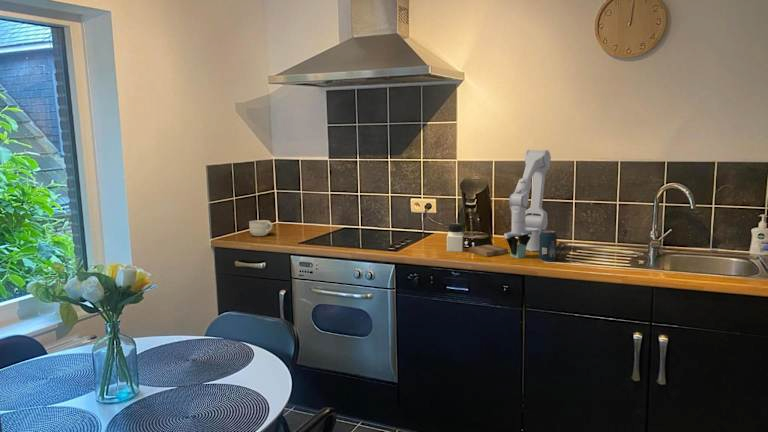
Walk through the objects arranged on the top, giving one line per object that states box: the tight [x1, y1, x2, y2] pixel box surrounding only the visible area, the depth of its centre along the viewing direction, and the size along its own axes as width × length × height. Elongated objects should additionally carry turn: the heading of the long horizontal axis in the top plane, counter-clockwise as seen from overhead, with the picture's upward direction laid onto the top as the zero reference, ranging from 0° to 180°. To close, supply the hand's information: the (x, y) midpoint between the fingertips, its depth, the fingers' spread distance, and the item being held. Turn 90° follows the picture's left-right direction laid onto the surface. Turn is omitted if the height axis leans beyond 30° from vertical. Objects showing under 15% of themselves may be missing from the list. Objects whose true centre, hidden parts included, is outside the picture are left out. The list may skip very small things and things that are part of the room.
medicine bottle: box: [446, 223, 465, 253], centre depth 269 cm, size 7×7×12 cm
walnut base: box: [468, 244, 508, 258], centre depth 264 cm, size 12×12×2 cm
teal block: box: [509, 243, 527, 259], centre depth 254 cm, size 4×4×5 cm
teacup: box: [248, 219, 274, 237], centre depth 316 cm, size 14×11×8 cm
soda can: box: [538, 229, 558, 262], centre depth 247 cm, size 7×7×12 cm
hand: (518, 253), depth 255 cm, fingers closed on teal block, 4 cm apart
